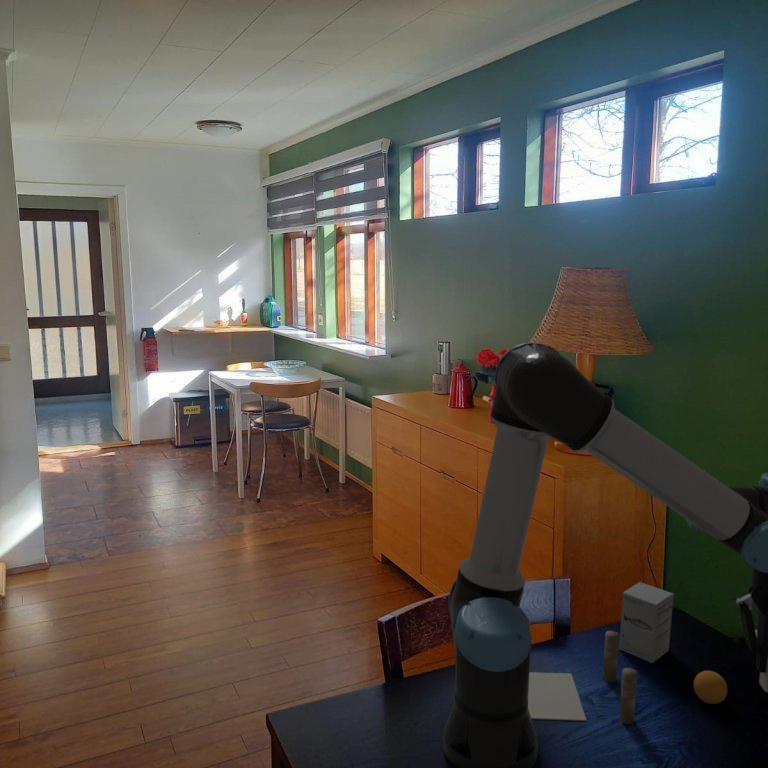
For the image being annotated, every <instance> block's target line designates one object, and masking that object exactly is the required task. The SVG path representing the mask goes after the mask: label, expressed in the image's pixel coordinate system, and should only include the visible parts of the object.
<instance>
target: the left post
mask: <svg viewBox="0 0 768 768" xmlns="http://www.w3.org/2000/svg"><path fill="white" fill-rule="evenodd" d="M604 637H605V639H604V656H603V674H602V679H604V681H606V682H608V683H613V682H616V681H617V678H618V677H617V675H618V663H619V661H618V659H619V658H618V657H619V643H620V633H618V632H617V631H614V630H607V631H606V632H605V635H604Z"/></svg>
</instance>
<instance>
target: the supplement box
mask: <svg viewBox="0 0 768 768" xmlns="http://www.w3.org/2000/svg"><path fill="white" fill-rule="evenodd" d="M674 596H675V594H674V593H673V592H671V591H670V592H669V591H667V590H665V589H661V588H659V587H656V586H652V585H649V584H646V583H644V582H642V581H639V582H637V583H636V584H634V585H632V586H631V587H629V588H627V589H626V590H624V592H622V602H621V604H622V605H621V615H620V616H621V617H620V628H619V629H620V632H619V645H618V651H621V652H622V651H623V652H625V653H628V654H630V655H632V656H635V657H636V658H639V659H641V660H644V661H646V662H648V663H649V664H654V663H655V662H657V660H659V659H660V658H661V657H663V656H664V655H665V654H666V653H667V652H669V649H670V638H671V627H672V617H673V616H672V615H673V605H674V604H673V603H674Z"/></svg>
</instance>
